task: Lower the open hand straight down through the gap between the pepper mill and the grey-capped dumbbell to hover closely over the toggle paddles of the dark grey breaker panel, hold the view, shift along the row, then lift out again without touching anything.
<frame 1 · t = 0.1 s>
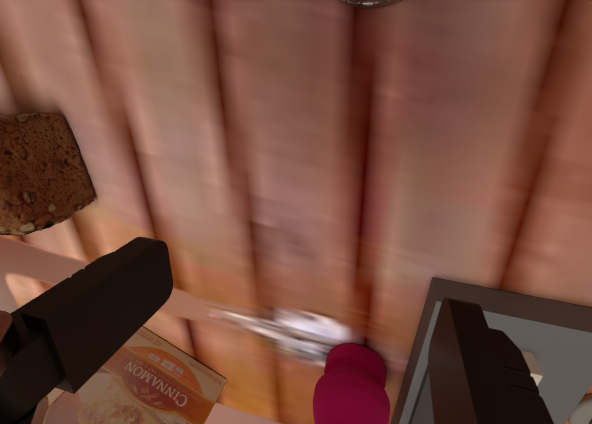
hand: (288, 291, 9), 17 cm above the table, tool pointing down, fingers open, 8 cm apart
bread: (26, 161, 35), on the table
coffeecake box: (175, 360, 44), on the table
pepper mill: (356, 362, 34), on the table
breaker panel: (472, 380, 30), on the table
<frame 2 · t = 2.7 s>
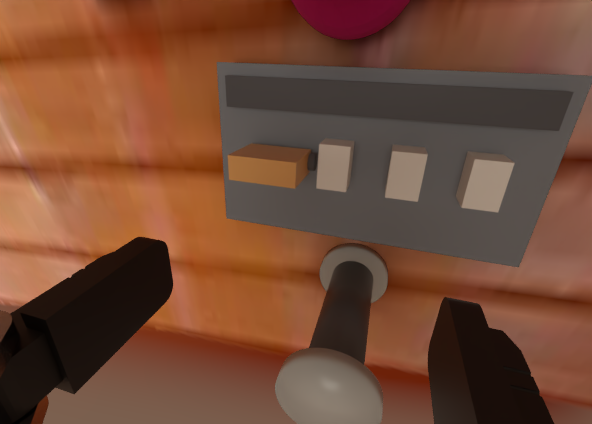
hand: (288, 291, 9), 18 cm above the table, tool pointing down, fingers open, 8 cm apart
grey-capped dumbbell: (353, 272, 29), on the table
main breaker lever: (272, 163, 21), point 5 cm above the table, hinge at 0.0°
breaker panel: (369, 154, 24), on the table
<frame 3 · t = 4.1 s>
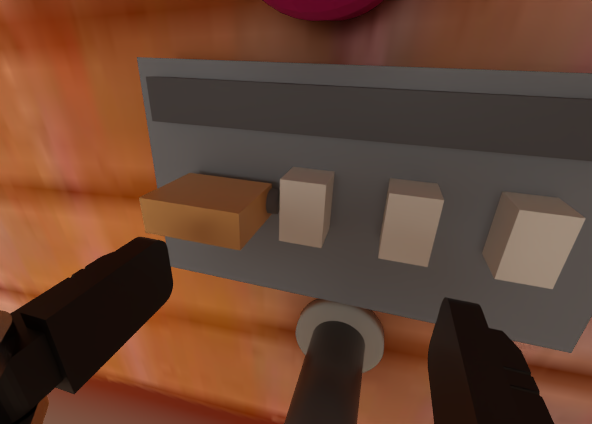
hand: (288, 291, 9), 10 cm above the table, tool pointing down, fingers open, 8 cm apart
grey-capped dumbbell: (340, 331, 22), on the table
main breaker lever: (214, 205, 14), point 5 cm above the table, hinge at 0.0°
breaker panel: (358, 184, 18), on the table
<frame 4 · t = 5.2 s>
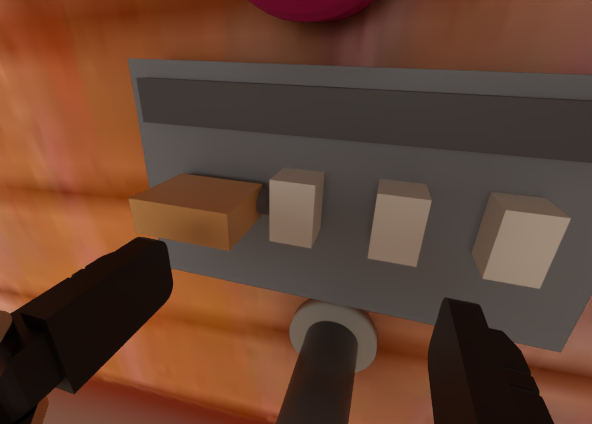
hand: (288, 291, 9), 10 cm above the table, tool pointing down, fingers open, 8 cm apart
grey-capped dumbbell: (333, 331, 22), on the table
main breaker lever: (204, 205, 14), point 5 cm above the table, hinge at 0.0°
breaker panel: (350, 184, 18), on the table
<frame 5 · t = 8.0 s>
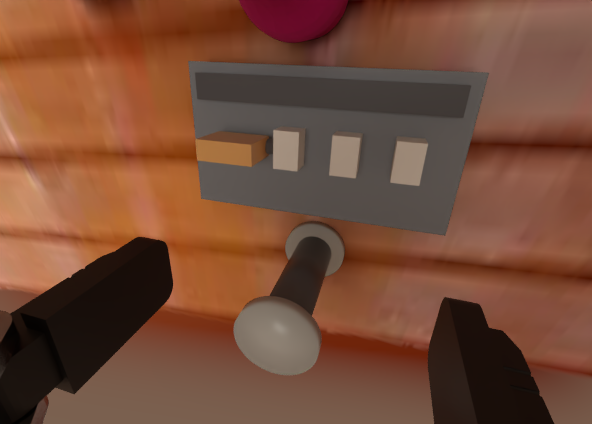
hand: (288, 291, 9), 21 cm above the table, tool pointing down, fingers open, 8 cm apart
grey-capped dumbbell: (315, 247, 33), on the table
main breaker lever: (235, 147, 25), point 5 cm above the table, hinge at 0.0°
breaker panel: (323, 141, 28), on the table
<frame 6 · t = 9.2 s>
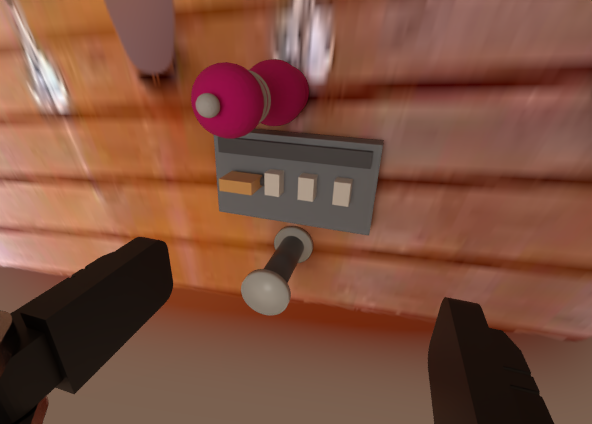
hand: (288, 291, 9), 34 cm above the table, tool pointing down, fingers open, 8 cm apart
grey-capped dumbbell: (294, 243, 49), on the table
main breaker lever: (241, 182, 41), point 5 cm above the table, hinge at 0.0°
pepper mill: (286, 91, 40), on the table
breaker panel: (297, 175, 44), on the table
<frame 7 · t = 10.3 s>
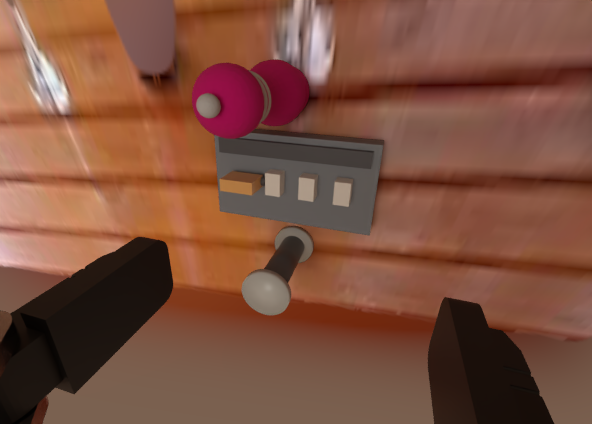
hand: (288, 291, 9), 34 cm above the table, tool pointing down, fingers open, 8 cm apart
grey-capped dumbbell: (295, 243, 49), on the table
main breaker lever: (242, 182, 41), point 5 cm above the table, hinge at 0.0°
pepper mill: (286, 91, 40), on the table
breaker panel: (297, 175, 44), on the table
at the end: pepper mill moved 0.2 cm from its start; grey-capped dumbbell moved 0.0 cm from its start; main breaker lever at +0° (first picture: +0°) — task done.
